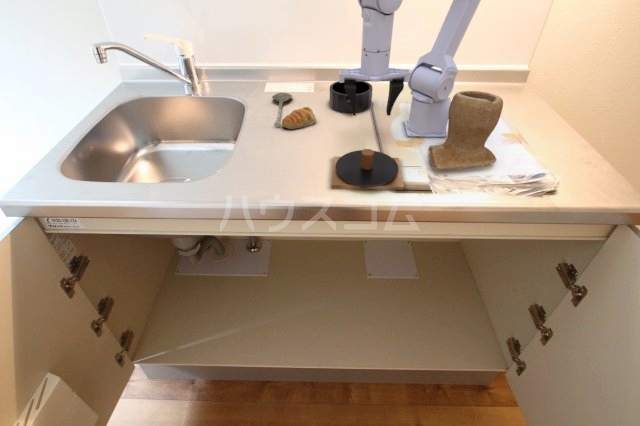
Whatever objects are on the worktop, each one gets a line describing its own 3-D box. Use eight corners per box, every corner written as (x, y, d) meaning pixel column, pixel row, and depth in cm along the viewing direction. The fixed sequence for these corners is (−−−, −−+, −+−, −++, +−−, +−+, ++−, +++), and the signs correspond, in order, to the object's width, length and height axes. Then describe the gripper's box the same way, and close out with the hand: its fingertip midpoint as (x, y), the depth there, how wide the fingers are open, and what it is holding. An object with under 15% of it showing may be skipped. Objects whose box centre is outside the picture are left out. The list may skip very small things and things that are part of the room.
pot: (369, 93, 104) (371, 76, 101) (371, 117, 91) (373, 99, 87) (331, 93, 105) (331, 76, 102) (328, 117, 92) (327, 99, 88)
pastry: (290, 133, 85) (289, 120, 83) (277, 125, 89) (275, 112, 87) (318, 122, 90) (317, 109, 87) (303, 115, 94) (303, 102, 91)
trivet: (398, 161, 74) (398, 157, 73) (403, 190, 66) (404, 186, 65) (333, 160, 75) (333, 156, 75) (331, 188, 67) (331, 184, 66)
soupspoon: (294, 98, 105) (274, 99, 105) (292, 87, 103) (272, 89, 103) (289, 126, 88) (265, 128, 88) (287, 115, 86) (263, 117, 86)
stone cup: (475, 143, 79) (495, 81, 69) (500, 170, 70) (528, 104, 60) (415, 148, 78) (428, 87, 68) (434, 176, 69) (451, 110, 59)
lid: (379, 149, 76) (381, 131, 73) (410, 180, 67) (413, 161, 63) (326, 161, 73) (326, 143, 70) (350, 195, 64) (351, 176, 60)
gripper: (338, 55, 61) (338, 121, 70) (416, 53, 59) (405, 121, 69) (339, 44, 66) (339, 107, 75) (411, 43, 65) (401, 107, 74)
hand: (371, 113), depth 72 cm, fingers open, 7 cm apart
